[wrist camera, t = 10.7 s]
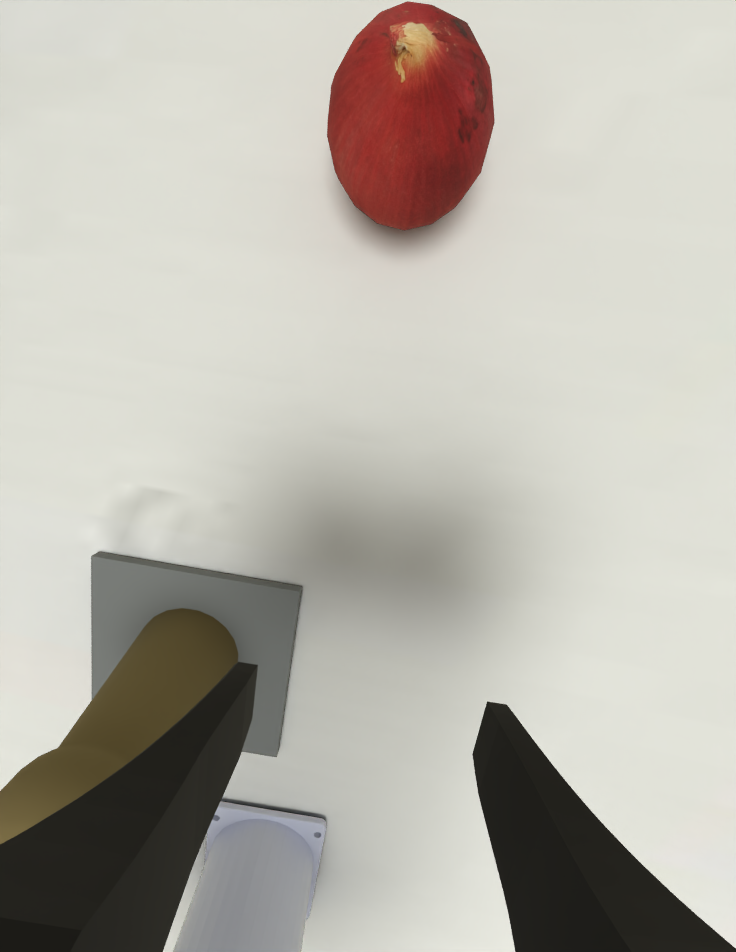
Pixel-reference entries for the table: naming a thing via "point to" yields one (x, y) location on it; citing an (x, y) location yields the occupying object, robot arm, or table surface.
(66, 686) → the table surface
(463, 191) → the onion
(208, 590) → the placemat
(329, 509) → the table surface
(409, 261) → the table surface
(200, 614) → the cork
